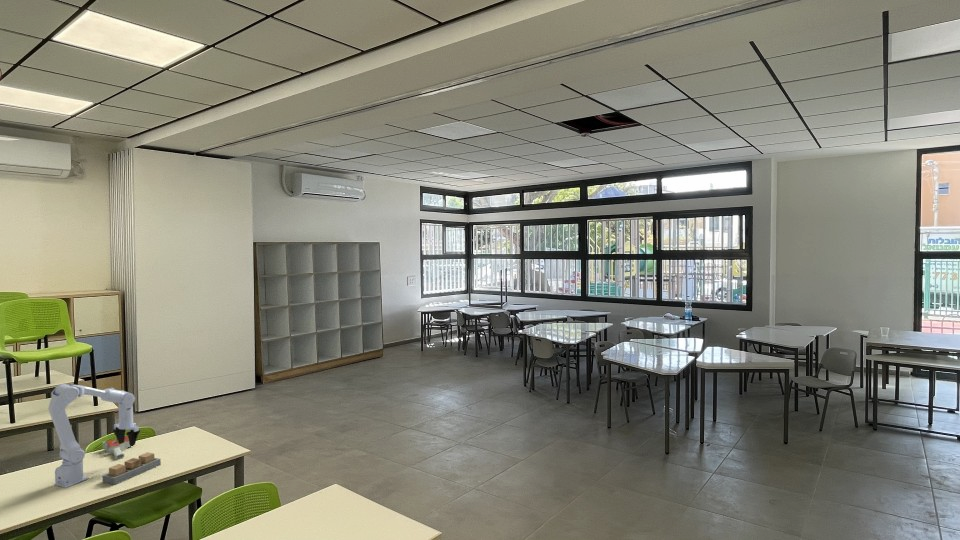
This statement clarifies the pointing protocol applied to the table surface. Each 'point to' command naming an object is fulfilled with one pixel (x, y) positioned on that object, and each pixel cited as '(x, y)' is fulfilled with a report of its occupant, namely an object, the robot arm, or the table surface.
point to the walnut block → (132, 463)
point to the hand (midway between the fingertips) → (126, 444)
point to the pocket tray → (121, 474)
